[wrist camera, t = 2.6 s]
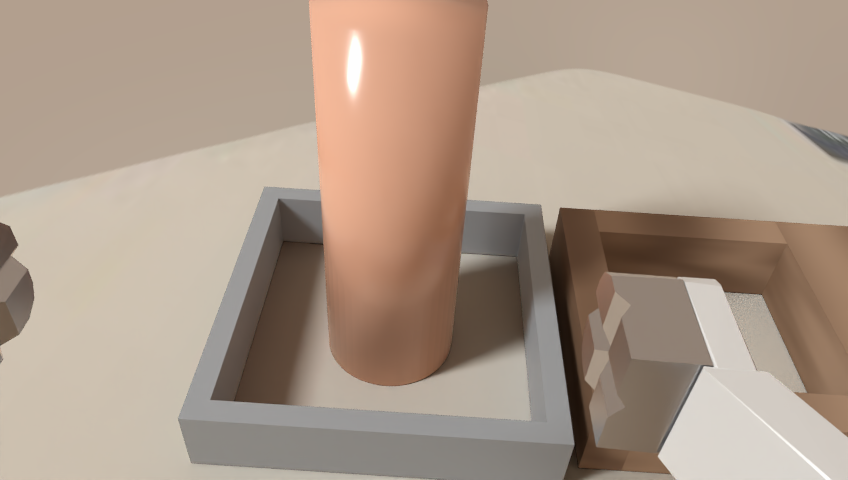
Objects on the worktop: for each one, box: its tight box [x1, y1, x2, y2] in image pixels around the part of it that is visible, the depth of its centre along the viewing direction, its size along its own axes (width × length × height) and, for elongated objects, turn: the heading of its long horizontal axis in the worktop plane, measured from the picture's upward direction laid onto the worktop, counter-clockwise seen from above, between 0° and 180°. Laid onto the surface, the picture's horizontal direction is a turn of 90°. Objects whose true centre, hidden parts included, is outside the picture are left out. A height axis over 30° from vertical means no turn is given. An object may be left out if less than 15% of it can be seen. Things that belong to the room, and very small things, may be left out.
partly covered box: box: [549, 208, 848, 474], centre depth 28 cm, size 20×11×3 cm, turn 88°
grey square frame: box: [178, 187, 574, 480], centre depth 28 cm, size 13×13×2 cm
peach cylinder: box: [309, 0, 488, 386], centre depth 24 cm, size 5×5×14 cm
